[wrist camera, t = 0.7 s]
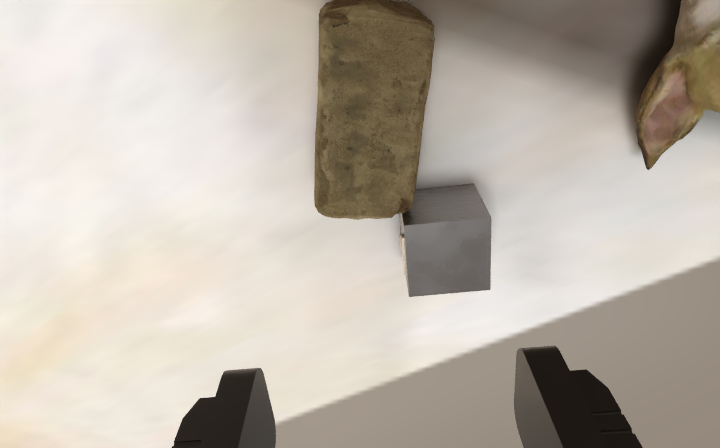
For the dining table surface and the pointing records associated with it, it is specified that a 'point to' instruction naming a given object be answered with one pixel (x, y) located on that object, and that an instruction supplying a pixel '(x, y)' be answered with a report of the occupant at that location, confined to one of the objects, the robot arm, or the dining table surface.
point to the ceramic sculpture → (682, 81)
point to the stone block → (370, 106)
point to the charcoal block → (446, 241)
